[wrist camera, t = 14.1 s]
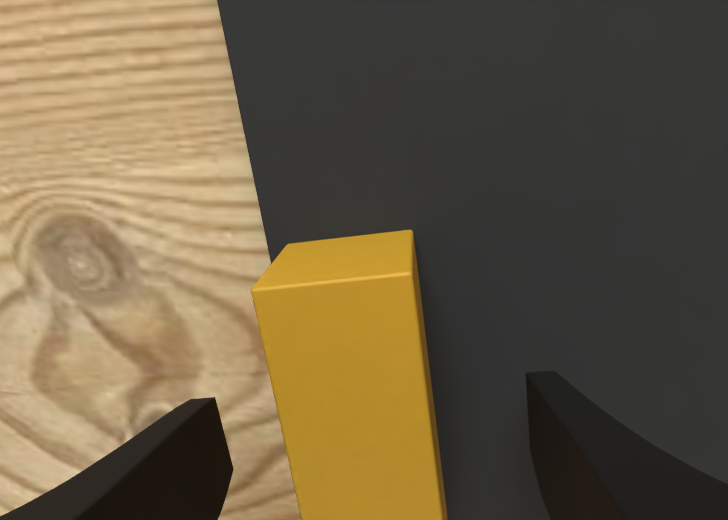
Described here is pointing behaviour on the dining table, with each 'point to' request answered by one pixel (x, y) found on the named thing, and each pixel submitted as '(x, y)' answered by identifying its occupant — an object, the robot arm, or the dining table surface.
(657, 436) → the mat
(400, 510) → the bar
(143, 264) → the dining table surface
